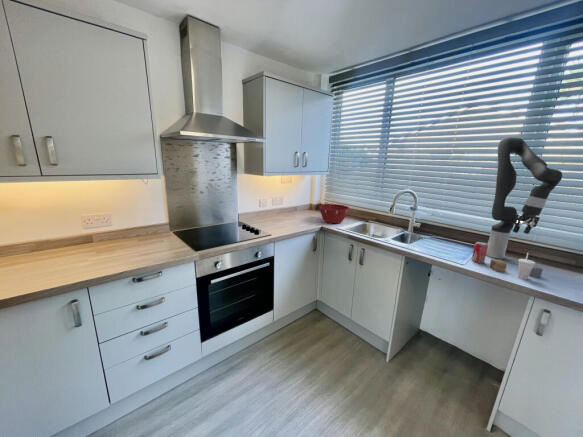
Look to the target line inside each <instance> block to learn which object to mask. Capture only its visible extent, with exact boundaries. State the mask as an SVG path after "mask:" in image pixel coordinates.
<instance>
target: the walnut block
mask: <svg viewBox="0 0 583 437" xmlns="http://www.w3.org/2000/svg"><path fill="white" fill-rule="evenodd" d="M507 264H508V263H506V262H505V261H504V260H503V259H495V258H491V259H490V263H489V268H490V269H492V270H493V271H495V272H503V273H504V272H505V271H506V268H507Z"/></svg>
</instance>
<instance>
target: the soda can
mask: <svg viewBox="0 0 583 437" xmlns="http://www.w3.org/2000/svg"><path fill="white" fill-rule="evenodd" d="M487 244H488V243H487V242H483V241H476V242H475V243H474V248H473V252H472V256H471V260H472V261H473V262H474V263H477V264H483V263H485V262H486V256H487V255H486V252H487V248H488V246H487Z"/></svg>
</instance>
